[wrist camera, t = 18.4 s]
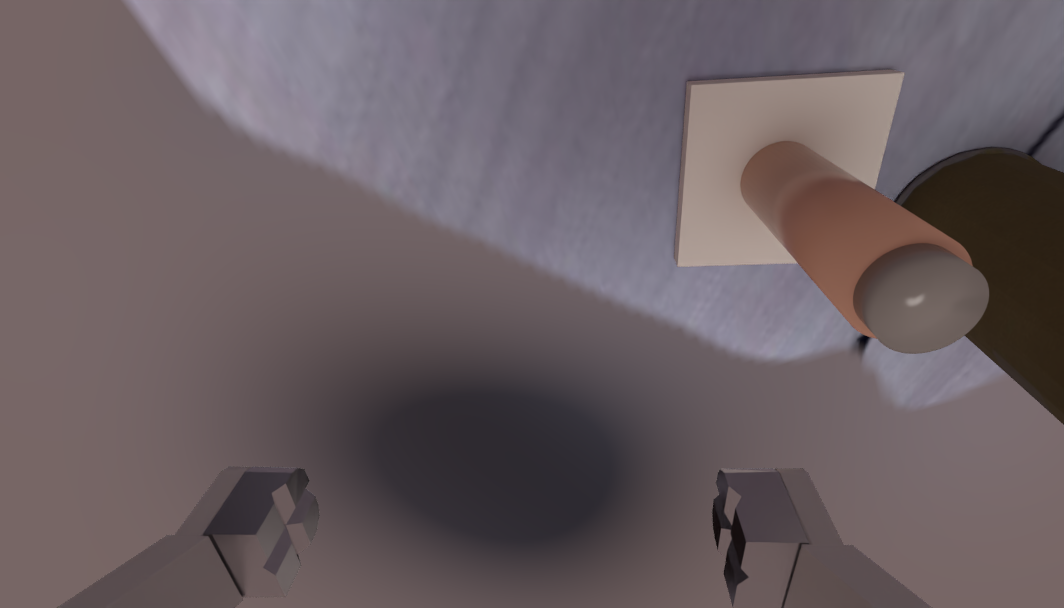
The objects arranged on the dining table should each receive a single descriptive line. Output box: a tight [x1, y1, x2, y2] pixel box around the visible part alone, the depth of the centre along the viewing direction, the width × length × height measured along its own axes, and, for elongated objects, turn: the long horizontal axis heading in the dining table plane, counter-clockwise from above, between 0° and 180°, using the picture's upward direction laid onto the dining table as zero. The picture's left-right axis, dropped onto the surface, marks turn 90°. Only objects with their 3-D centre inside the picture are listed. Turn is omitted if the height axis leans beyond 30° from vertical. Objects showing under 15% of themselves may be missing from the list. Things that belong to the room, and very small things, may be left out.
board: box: [674, 69, 905, 267], centre depth 36 cm, size 12×12×2 cm
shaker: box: [740, 141, 989, 354], centre depth 28 cm, size 5×5×17 cm
